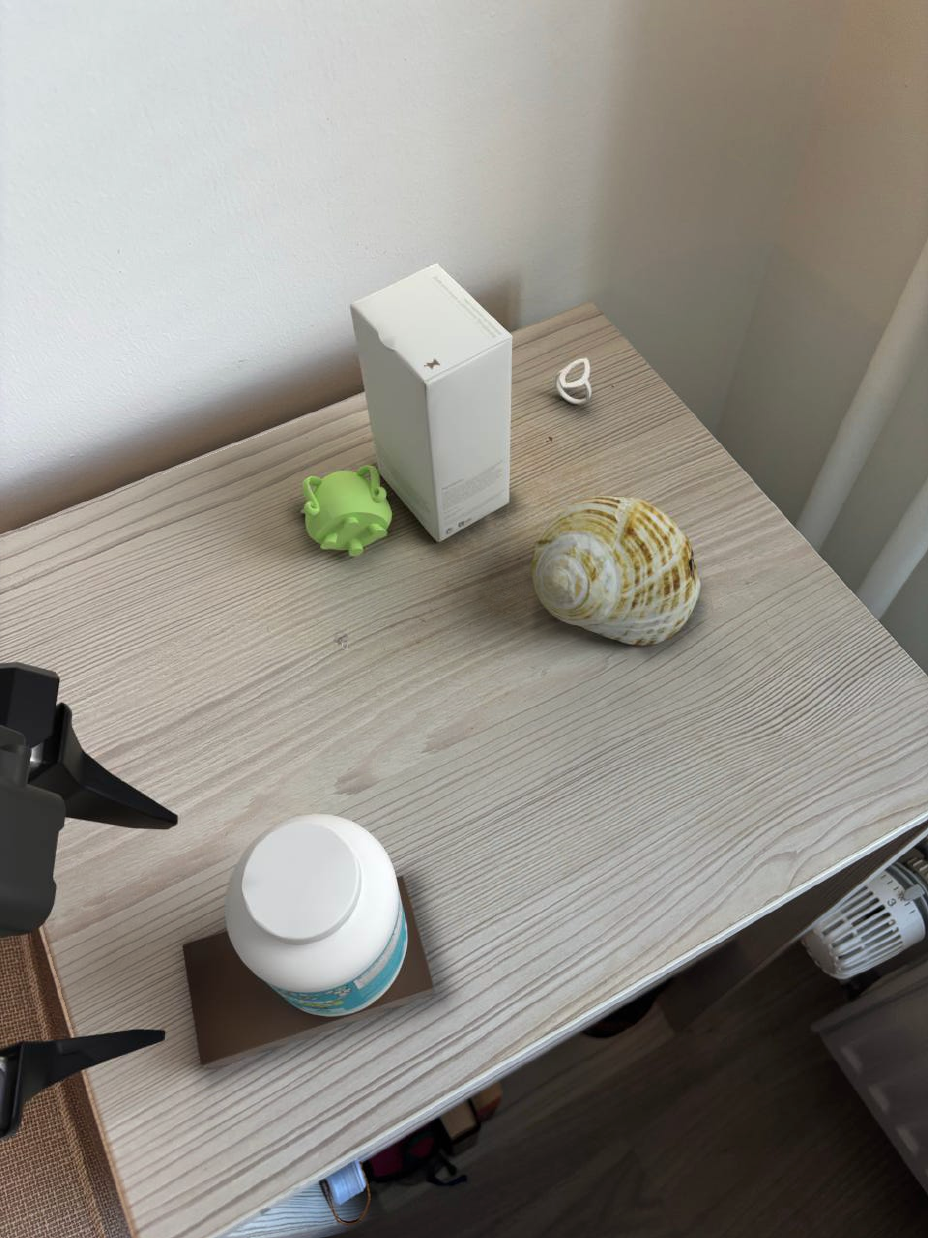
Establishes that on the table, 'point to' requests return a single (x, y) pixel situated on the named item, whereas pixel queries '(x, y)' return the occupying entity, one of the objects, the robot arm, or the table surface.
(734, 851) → the table surface
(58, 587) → the table surface
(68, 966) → the table surface
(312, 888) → the pill bottle
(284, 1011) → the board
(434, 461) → the cosmetic box
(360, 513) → the green footed pot
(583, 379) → the ring
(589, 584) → the seashell
